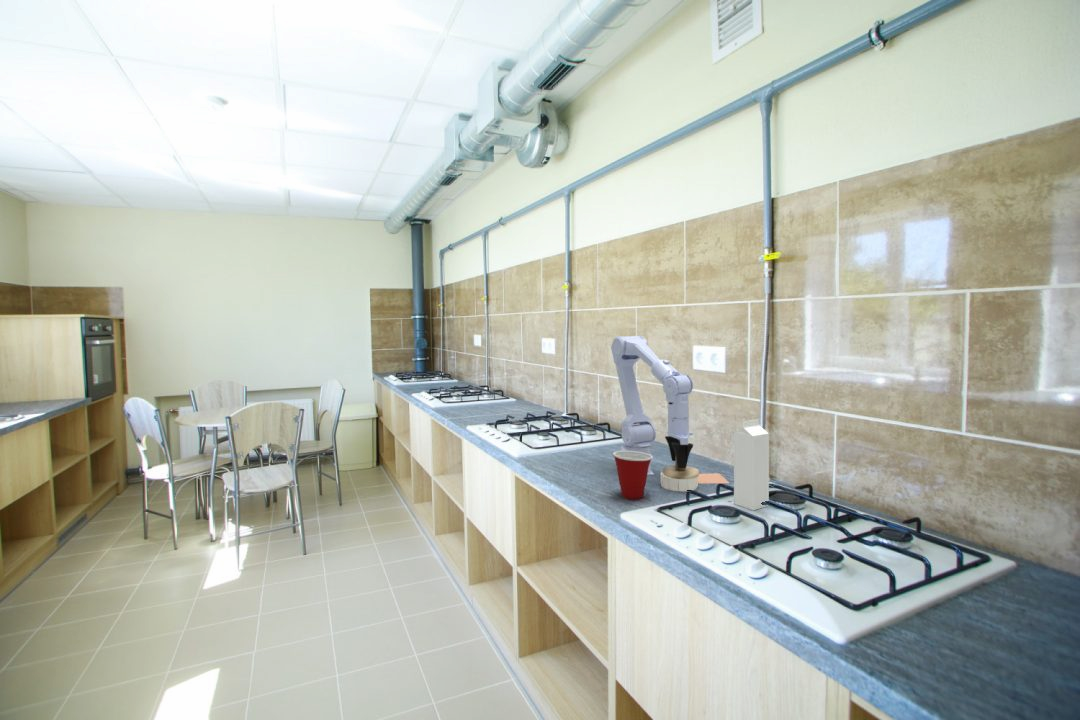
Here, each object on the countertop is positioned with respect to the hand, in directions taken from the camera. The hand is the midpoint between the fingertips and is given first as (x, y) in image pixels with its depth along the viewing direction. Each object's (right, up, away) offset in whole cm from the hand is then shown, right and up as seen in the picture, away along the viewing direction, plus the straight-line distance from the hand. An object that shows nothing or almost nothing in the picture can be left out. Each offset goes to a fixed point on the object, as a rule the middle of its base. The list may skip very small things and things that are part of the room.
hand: (678, 464), depth 146 cm
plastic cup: (-14, -8, -6) cm, 17 cm away
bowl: (0, -7, 0) cm, 7 cm away
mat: (+10, -6, +7) cm, 14 cm away
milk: (+14, -8, -15) cm, 22 cm away
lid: (+1, -3, 0) cm, 3 cm away
